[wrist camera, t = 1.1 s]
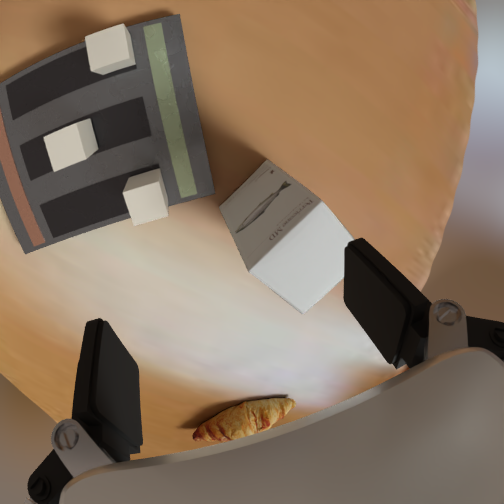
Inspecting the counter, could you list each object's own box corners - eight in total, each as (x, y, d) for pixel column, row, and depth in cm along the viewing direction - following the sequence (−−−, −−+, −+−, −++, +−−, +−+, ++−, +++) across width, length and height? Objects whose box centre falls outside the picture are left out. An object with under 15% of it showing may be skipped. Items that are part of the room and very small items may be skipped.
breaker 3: (128, 177, 25) (122, 192, 22) (159, 168, 26) (158, 181, 22) (138, 206, 27) (133, 226, 23) (167, 197, 27) (168, 215, 24)
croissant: (283, 374, 55) (294, 393, 47) (298, 411, 56) (309, 432, 48) (183, 410, 53) (180, 433, 45) (204, 445, 54) (205, 468, 46)
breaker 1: (61, 129, 21) (43, 137, 17) (90, 118, 22) (76, 122, 18) (69, 159, 23) (54, 172, 19) (98, 148, 23) (86, 159, 19)
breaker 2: (97, 45, 18) (84, 36, 15) (130, 34, 19) (123, 23, 15) (103, 74, 20) (90, 71, 16) (135, 64, 20) (129, 58, 17)
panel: (-20, 100, 17) (-27, 101, 16) (179, 17, 21) (179, 13, 19) (29, 247, 27) (24, 254, 26) (213, 189, 30) (215, 194, 29)
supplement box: (266, 156, 30) (325, 196, 19) (307, 201, 34) (371, 257, 23) (215, 206, 31) (245, 272, 21) (261, 246, 35) (304, 317, 25)
